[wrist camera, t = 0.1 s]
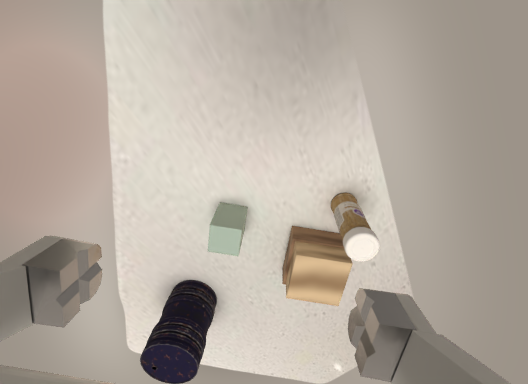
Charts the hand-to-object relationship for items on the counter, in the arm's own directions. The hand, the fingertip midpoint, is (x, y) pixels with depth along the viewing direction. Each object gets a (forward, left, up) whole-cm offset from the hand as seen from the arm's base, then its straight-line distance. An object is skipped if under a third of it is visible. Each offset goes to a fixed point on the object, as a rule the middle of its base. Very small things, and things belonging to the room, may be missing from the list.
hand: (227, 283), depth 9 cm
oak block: (+25, +12, -35) cm, 44 cm away
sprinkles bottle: (+14, +15, -39) cm, 44 cm away
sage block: (+20, -4, -39) cm, 44 cm away
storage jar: (+41, -10, -39) cm, 57 cm away
